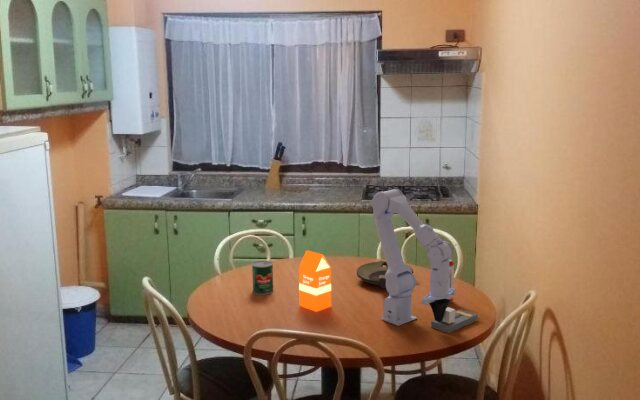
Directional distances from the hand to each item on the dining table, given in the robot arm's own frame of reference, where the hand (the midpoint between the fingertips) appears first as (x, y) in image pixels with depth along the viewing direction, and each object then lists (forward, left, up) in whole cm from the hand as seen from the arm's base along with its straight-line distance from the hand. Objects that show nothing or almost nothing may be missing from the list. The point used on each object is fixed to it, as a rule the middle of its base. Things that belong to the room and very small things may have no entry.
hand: (438, 320), depth 201 cm
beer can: (+23, +15, -4) cm, 28 cm away
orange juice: (-14, +44, -4) cm, 46 cm away
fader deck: (+9, 0, -3) cm, 9 cm away
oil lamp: (+22, +45, -4) cm, 50 cm away
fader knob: (+4, 0, -1) cm, 4 cm away
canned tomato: (-18, +70, -4) cm, 72 cm away
